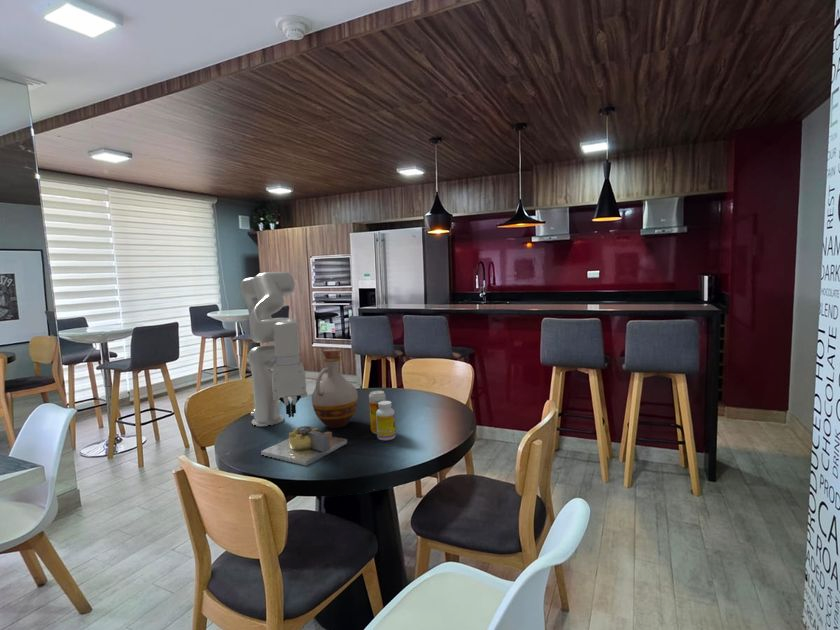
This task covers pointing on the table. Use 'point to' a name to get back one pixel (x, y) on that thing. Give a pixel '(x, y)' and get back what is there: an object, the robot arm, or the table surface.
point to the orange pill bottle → (375, 407)
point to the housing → (301, 451)
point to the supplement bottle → (385, 421)
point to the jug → (334, 394)
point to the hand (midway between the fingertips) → (291, 415)
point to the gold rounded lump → (309, 439)
